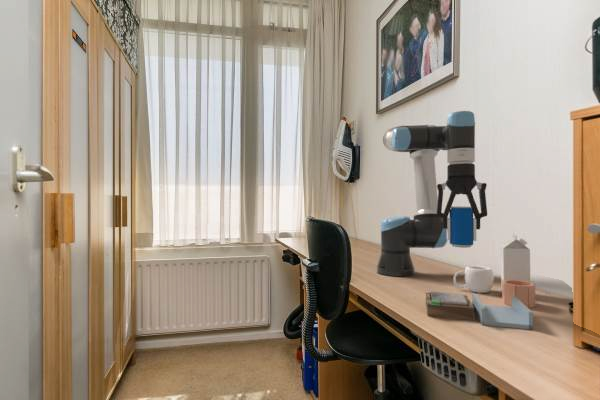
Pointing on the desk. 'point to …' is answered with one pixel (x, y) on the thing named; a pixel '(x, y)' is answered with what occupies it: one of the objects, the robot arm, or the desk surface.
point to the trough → (504, 314)
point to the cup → (518, 292)
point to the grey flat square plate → (449, 298)
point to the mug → (477, 278)
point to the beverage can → (461, 227)
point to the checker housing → (449, 309)
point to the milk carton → (515, 260)
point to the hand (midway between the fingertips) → (461, 239)
